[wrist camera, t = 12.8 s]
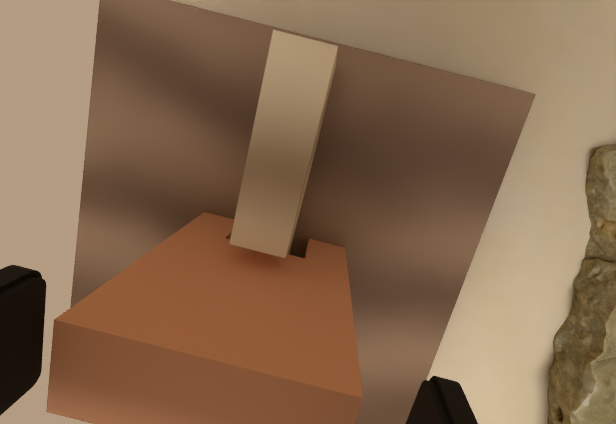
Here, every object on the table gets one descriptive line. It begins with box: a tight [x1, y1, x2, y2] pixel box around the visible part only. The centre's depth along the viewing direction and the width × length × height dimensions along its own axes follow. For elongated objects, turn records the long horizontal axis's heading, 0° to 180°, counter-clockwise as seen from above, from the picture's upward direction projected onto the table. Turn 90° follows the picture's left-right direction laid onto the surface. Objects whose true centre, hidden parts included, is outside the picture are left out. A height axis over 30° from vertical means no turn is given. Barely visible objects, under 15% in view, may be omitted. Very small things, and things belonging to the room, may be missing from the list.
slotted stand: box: [71, 0, 535, 424], centre depth 16 cm, size 20×19×6 cm
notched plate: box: [47, 212, 363, 424], centre depth 13 cm, size 2×7×10 cm, turn 76°
